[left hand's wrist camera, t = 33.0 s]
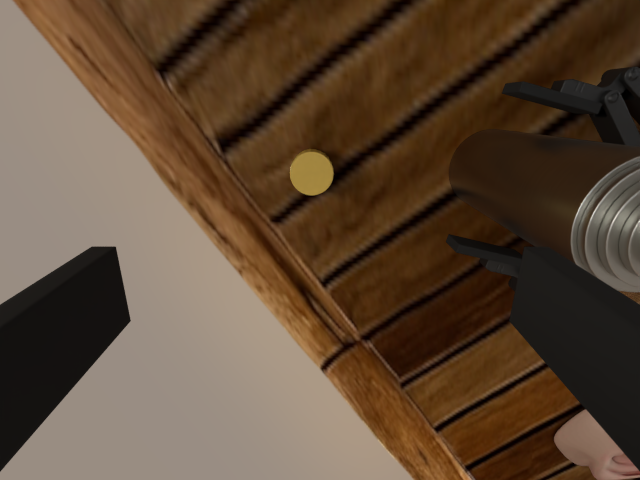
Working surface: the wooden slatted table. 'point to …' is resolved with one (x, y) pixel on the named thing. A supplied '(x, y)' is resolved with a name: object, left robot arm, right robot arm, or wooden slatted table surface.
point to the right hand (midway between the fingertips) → (479, 170)
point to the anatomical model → (593, 449)
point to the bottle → (558, 196)
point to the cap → (311, 172)
